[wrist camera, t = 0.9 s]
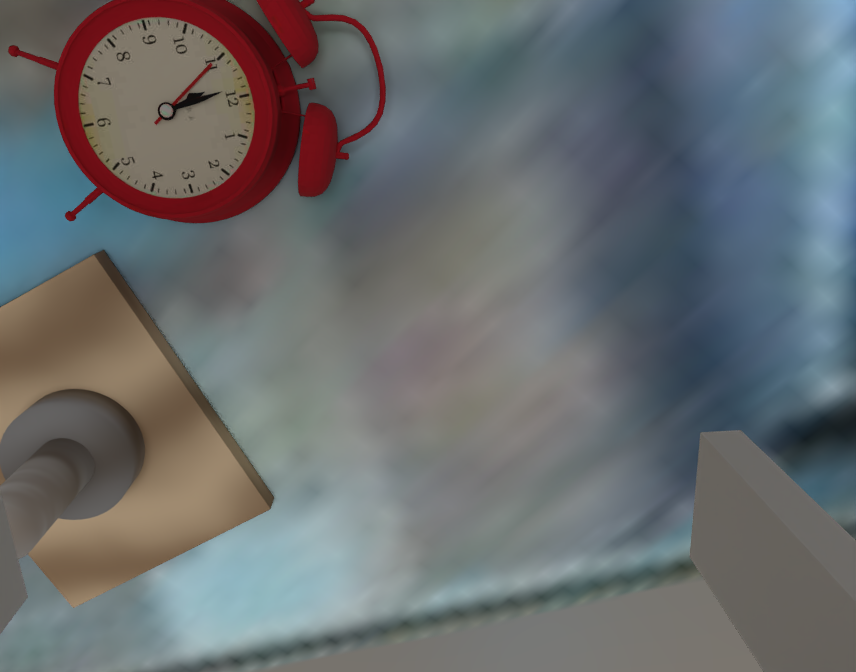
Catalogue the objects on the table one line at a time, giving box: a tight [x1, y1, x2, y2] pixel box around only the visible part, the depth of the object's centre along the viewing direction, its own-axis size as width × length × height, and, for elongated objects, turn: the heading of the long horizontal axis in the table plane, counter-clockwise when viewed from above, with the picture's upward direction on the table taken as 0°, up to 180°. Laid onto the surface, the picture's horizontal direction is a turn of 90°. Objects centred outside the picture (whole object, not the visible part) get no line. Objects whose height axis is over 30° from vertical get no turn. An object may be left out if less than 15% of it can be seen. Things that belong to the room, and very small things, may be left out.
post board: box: [0, 250, 274, 608], centre depth 34 cm, size 16×13×9 cm
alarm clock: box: [8, 0, 386, 223], centre depth 32 cm, size 10×6×15 cm
